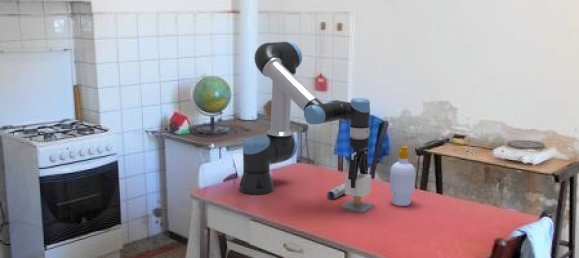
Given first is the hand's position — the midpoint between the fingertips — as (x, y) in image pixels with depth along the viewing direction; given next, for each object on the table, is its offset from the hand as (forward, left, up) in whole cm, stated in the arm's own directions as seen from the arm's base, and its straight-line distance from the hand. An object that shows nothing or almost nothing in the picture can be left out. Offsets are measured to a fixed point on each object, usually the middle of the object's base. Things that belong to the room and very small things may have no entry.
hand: (357, 192), depth 240 cm
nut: (0, 0, 0) cm, 0 cm away
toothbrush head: (-12, +17, -7) cm, 21 cm away
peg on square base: (0, 0, -6) cm, 6 cm away
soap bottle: (+14, +14, -7) cm, 21 cm away
